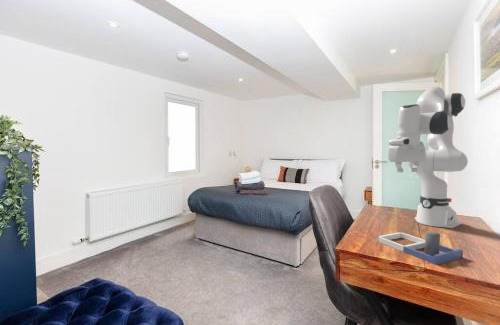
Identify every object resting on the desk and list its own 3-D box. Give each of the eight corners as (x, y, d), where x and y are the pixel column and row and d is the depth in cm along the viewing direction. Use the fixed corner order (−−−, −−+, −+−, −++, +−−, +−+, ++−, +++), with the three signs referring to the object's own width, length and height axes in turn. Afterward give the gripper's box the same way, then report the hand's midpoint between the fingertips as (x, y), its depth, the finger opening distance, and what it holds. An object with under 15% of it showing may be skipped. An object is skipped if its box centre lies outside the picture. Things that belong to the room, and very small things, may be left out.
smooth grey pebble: (429, 251, 98) (430, 230, 98) (441, 255, 94) (442, 234, 94) (421, 252, 97) (422, 232, 96) (434, 257, 93) (435, 235, 92)
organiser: (400, 236, 115) (401, 229, 114) (462, 257, 92) (462, 249, 92) (376, 241, 109) (376, 234, 109) (436, 264, 87) (436, 256, 86)
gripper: (416, 141, 120) (415, 170, 121) (386, 140, 112) (385, 172, 113) (430, 141, 114) (429, 171, 115) (399, 140, 106) (398, 173, 107)
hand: (407, 172), depth 114 cm, fingers open, 8 cm apart
